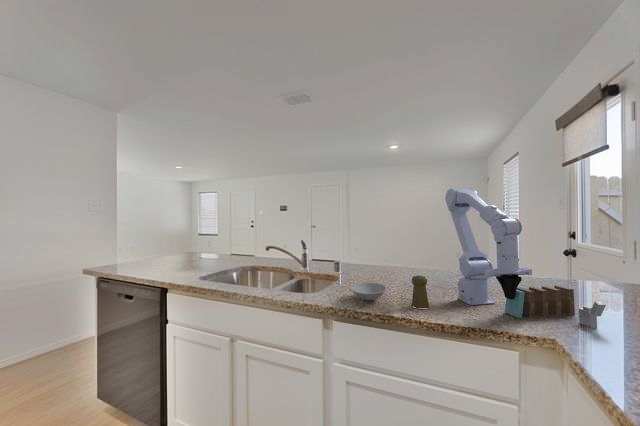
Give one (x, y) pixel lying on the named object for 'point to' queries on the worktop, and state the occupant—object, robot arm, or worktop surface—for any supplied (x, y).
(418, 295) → the olive upright piece
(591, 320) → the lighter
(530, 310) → the walnut domino
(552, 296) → the walnut domino
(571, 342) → the worktop surface
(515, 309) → the teal domino
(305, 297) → the worktop surface
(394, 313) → the worktop surface
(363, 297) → the dish
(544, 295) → the walnut domino
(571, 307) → the walnut domino
